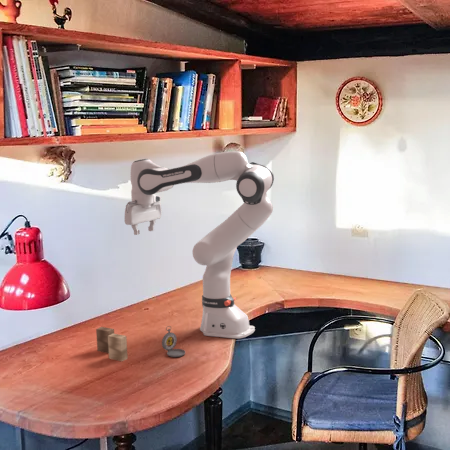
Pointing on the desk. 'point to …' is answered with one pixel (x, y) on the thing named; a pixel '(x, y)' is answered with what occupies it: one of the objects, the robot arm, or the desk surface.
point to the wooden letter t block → (117, 347)
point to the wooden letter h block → (103, 338)
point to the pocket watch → (171, 344)
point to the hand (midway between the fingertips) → (144, 232)
